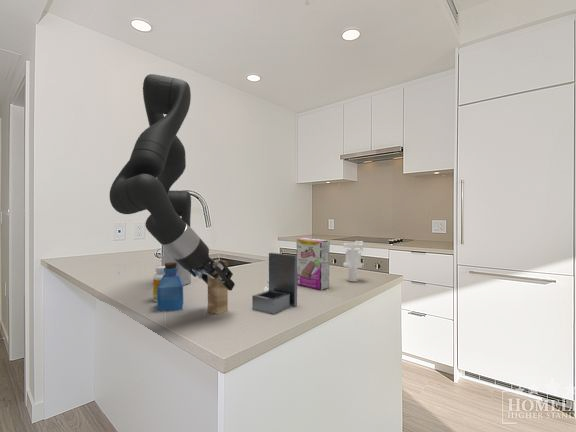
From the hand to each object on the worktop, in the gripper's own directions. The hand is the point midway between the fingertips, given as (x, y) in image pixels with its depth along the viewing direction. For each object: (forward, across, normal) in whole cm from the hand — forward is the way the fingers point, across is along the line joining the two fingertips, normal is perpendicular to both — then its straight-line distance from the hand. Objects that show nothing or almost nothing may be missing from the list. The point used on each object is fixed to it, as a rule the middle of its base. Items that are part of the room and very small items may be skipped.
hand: (222, 285), depth 84 cm
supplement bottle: (+2, +21, +7) cm, 22 cm away
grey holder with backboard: (+11, -10, -2) cm, 15 cm away
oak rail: (+3, 0, +6) cm, 7 cm away
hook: (+21, 0, -12) cm, 24 cm away
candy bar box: (+30, -7, -20) cm, 37 cm away
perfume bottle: (0, +13, +9) cm, 16 cm away
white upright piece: (+41, -15, -32) cm, 54 cm away
